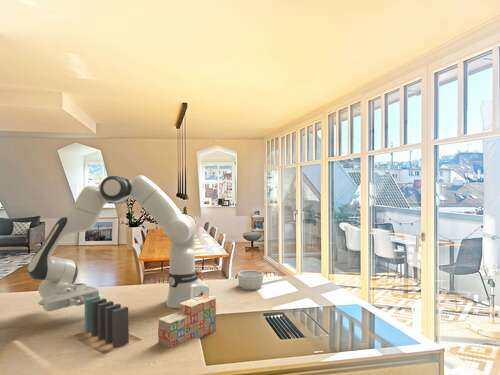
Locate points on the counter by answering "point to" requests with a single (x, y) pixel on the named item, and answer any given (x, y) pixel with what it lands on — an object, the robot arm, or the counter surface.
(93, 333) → the domino
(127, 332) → the domino
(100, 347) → the oak board
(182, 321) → the stack of blocks
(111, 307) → the domino
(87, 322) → the domino
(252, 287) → the ramekin
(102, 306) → the domino
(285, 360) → the counter surface
